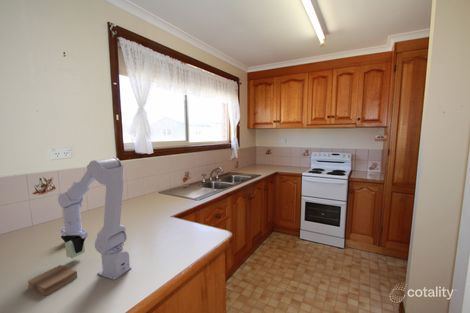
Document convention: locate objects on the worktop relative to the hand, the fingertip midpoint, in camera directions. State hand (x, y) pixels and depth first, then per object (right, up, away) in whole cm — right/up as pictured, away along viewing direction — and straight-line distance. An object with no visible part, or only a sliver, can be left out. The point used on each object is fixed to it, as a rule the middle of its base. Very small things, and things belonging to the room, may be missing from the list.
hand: (75, 250), depth 92 cm
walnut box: (+2, -6, -13) cm, 15 cm away
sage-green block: (0, -1, 0) cm, 2 cm away
